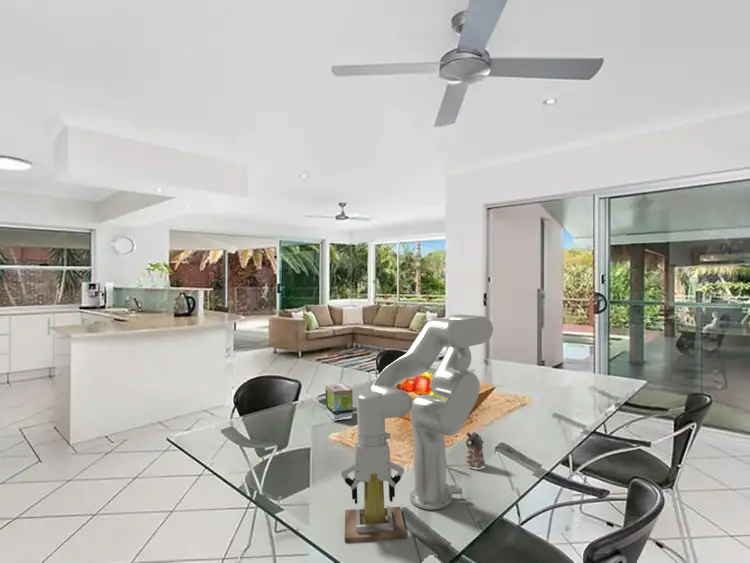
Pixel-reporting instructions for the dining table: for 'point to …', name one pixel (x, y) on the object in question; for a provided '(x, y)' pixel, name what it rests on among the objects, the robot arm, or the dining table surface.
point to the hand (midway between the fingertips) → (373, 500)
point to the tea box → (339, 401)
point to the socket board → (374, 526)
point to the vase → (374, 501)
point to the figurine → (474, 451)
